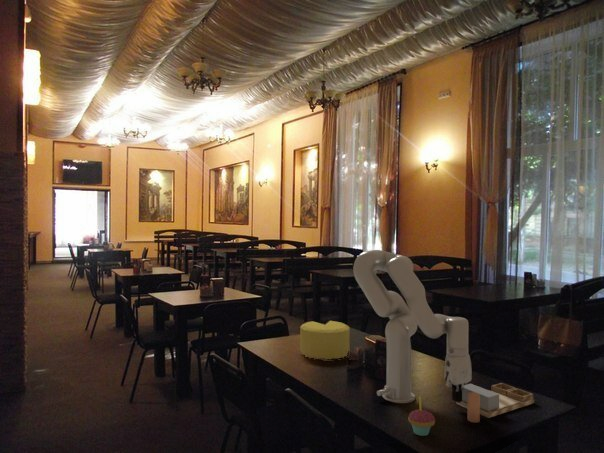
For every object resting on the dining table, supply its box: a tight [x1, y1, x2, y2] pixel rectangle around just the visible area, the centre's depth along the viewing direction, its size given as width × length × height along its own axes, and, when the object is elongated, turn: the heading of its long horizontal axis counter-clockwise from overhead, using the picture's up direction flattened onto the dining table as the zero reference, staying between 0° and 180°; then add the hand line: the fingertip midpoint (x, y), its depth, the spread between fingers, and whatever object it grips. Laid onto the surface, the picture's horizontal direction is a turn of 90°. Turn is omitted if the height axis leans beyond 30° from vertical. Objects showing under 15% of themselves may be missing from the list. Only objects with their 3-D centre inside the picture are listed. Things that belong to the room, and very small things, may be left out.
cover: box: [462, 383, 499, 411], centre depth 164 cm, size 6×12×5 cm, turn 30°
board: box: [455, 382, 535, 419], centre depth 168 cm, size 27×14×4 cm, turn 120°
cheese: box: [299, 320, 351, 359], centre depth 234 cm, size 26×26×15 cm
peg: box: [466, 392, 481, 423], centre depth 154 cm, size 4×4×9 cm
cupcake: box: [407, 395, 436, 437], centre depth 144 cm, size 9×8×12 cm
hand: (457, 400), depth 163 cm, fingers closed
